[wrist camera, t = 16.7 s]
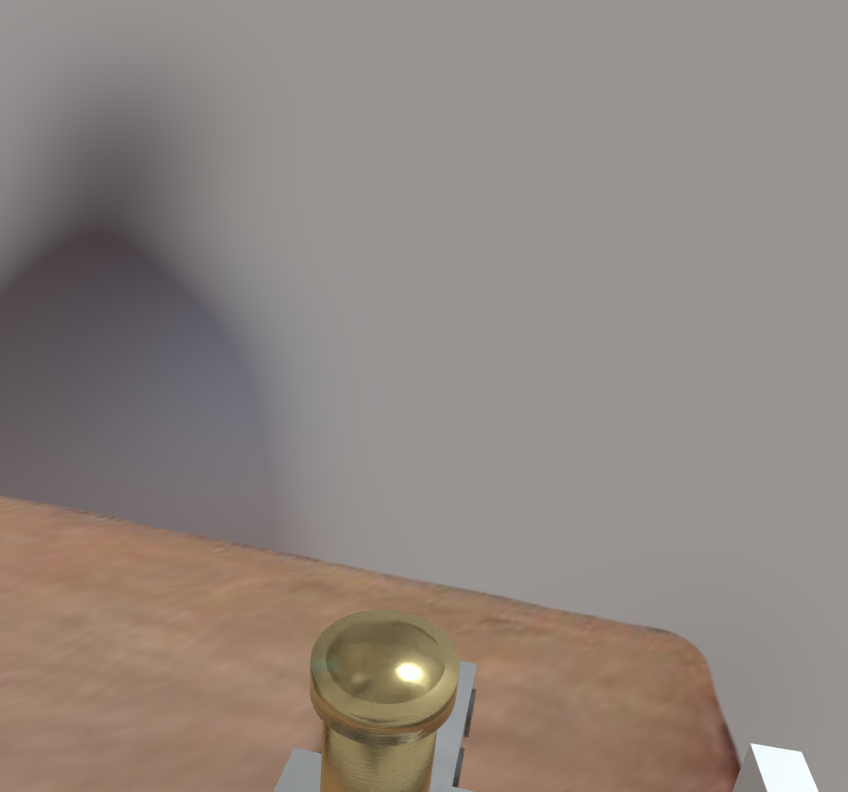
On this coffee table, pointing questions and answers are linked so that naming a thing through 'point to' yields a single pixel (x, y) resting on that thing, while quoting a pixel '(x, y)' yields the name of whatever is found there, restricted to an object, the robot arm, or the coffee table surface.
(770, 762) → the robot arm
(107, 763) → the coffee table surface
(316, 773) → the grey link plate
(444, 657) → the pin
